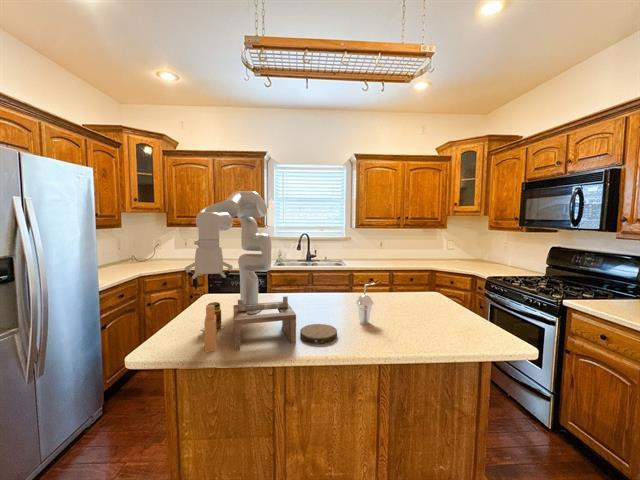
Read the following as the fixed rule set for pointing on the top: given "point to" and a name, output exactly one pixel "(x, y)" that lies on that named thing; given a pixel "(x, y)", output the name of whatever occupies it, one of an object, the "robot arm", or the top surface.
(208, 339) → the l-shaped step block
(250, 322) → the shelf
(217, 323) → the condiment
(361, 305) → the cup with straw
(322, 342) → the brown round disc
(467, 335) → the top surface
